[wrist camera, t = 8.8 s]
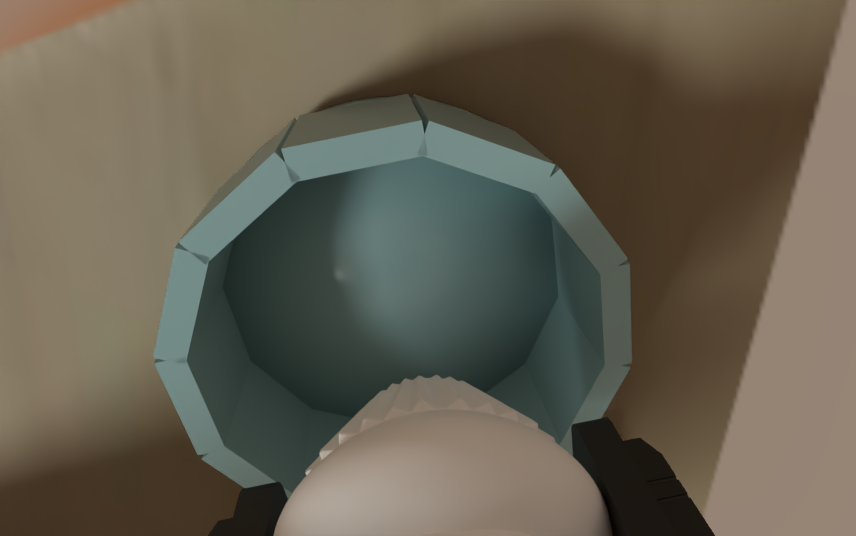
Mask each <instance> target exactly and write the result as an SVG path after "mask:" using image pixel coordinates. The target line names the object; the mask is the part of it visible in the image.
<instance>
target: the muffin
mask: <svg viewBox="0 0 856 536" xmlns="http://www.w3.org/2000/svg"><path fill="white" fill-rule="evenodd" d="M319 454H320V456H319V457H318V458H317V459H316V460H315V461H314V462H313V463H312V464H311V465H310V466H309V467H308V469H307V470H306V472H305V473H306V477H305V478H304V479H303V480H302V481H301V483H300V484H299V485H298V486H297V488H296V489H295V490H294V492H293V493H292V495H291V496H290V498H289V500H288V501H287V503H286V504H285V506H284V508H283V510H282V513H281V515H280V517H279V519H278V522H277V525H276V528H275V531H274V535H273V536H613V532H612V526H611V521H610V517H609V513H608V509H607V506H606V504H605V501H604V499H603V497H602V494H601V493H600V491H599V489H598V487H597V485H596V484H595V482H594V480H593V479H592V478H591V476H590V475H589V474H588V472H587V471H586V470H585V469H584V467H583V466H582V465H581V464H580V463H579V462H578V461H577V460H576V459H575V458H574V457H573V456H572V455H570V454H569V453H568V452H567V451H566V450H565V449H563V448H562V447H561V446H559V445H558V444H557V443H556V442H555V439H554V437H552V436H550V435H549V434H547V433H546V432H544V431H542V430H541V429H539V428H538V424H537V423H536V422H535V421H534V420H532V419H530V418H528V417H527V416H525V415H523V414H521V413H519V412H518V411H516V410H514V409H512V408H510V407H509V406H507V405H505V404H504V403H502V402H500V401H498V400H496V399H495V398H493V397H491V396H489V395H488V394H486V393H484V392H482V391H481V390H479V389H477V388H475V387H473V386H471V385H470V384H468V383H466V382H465V381H457V380H455V379H454V378H452V377H450V376H449V377H447V378H444V379H443V378H441V377H440V376H438V375H435V376H433V377H431V378H424V377H422V376H417V377H416V378H415V379H414V380H409V379H406V378H405V379H404V380H403V381H402V382H401V384H391V385H390V387H389V388H388V389H387V390H382V391H380V392H379V393H378V394H377V395H376V396H375V397H374V398H373V399H372V400H370V401H369V402H368V403H367V404H366V405H365V406H364V407H363V408H362V409H361V410H360V411H359V412H358V413H357V414H356V415H355V416H354V417H353V418H352V419H351V420H350V421H349V422H348V423H347V424H346V425H345V426H344V427H343V428H342V429H341V430H340V431H339V432H338V433H337V434H336V435H335V436H334V437H333V438H332V439H331V440H330V441H329V442H328V443H327V444H326V445H325V446H324V447H323V448H322V449H321V451H320V453H319Z"/></svg>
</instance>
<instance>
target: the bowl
mask: <svg viewBox="0 0 856 536" xmlns="http://www.w3.org/2000/svg"><path fill="white" fill-rule="evenodd" d="M627 259H628V258H627V256H626V255H625V254H624V252H623V251H622V250H621V248H620V247H619V246H618V244H617V243H616V242H615V240H614V239H613V238H612V236H611V235H610V234H609V232H608V231H607V230H606V228H605V227H604V226H603V224H602V223H601V222H600V220H599V219H598V218H597V216H596V215H595V214H594V212H593V211H592V210H591V208H590V207H589V206H588V204H587V203H586V202H585V200H584V199H583V198H582V196H581V195H580V194H579V192H578V191H577V190H576V188H575V187H574V186H573V184H572V183H571V182H570V180H569V179H568V178H567V176H566V175H565V174H564V173H563V171H562V170H561V169H560V168H559V167H558V166H557V165H556V164H554V163H553V162H552V161H551V160H550V159H548V158H547V157H546V156H545V155H543V154H542V153H541V152H540V151H539V150H537V149H536V148H535V147H534V146H533V145H531V144H530V143H529V142H528V141H527V140H525V139H524V138H523V137H522V136H520V135H519V134H518V133H516V132H515V131H514V130H513V129H510V128H507V127H504V126H502V125H499V124H496V123H493V122H490V121H488V120H486V119H484V118H482V117H480V116H478V115H476V114H473V113H471V112H469V111H466V110H464V109H462V108H459V107H456V106H452V105H449V104H445V103H442V102H438V101H435V100H429V99H426V98H424V97H421V96H418V95H415V94H414V95H413V97H410V96H409V95H408V94H403V95H398V96H393V97H375V98H367V99H360V100H353V101H350V102H346V103H342V104H339V105H335V106H331V107H328V108H325V109H323V110H321V111H318V112H314V113H309V114H304V115H300V116H299V118H298V119H297V120H296V119H295V118H294V119H293V120H292V121H291V122H290V123H289V124H288V125H287V126H286V127H285V128H283V129H282V130H281V131H280V132H279V133H278V134H277V135H276V136H275V137H273V138H272V139H271V140H270V141H269V142H267V143H266V144H265V145H264V146H262V147H261V148H260V149H259V150H258V151H257V152H256V154H255V155H254V156H253V157H252V158H251V159H250V160H249V161H248V162H247V163H246V164H245V165H244V166H243V167H242V168H241V169H240V170H239V171H238V172H237V173H236V174H235V175H234V176H232V177H231V178H230V179H229V180H228V181H227V182H226V183H225V184H224V185H223V186H222V187H221V188H220V189H219V190H218V191H217V192H216V194H215V195H214V196H213V198H212V199H211V200H210V201H209V203H208V204H207V205H206V207H205V208H204V209H203V211H202V212H201V213H200V214H199V216H198V217H197V218H196V220H195V221H194V222H193V223H192V225H191V226H190V227H189V229H188V230H187V231H186V232H185V234H184V235H183V236H182V238H181V239H180V240H179V242H178V244H177V246H176V247H175V249H174V255H173V260H172V265H171V270H170V275H169V280H168V285H167V290H166V295H165V300H164V305H163V310H162V315H161V321H160V326H159V331H158V336H157V341H156V346H155V351H154V356H153V358H156V361H155V362H154V365H155V367H156V369H157V371H158V373H159V375H160V377H161V379H162V381H163V383H164V386H165V388H166V390H167V392H168V394H169V396H170V398H171V400H172V402H173V404H174V407H175V409H176V411H177V413H178V415H179V417H180V419H181V421H182V423H183V425H184V427H185V430H186V432H187V434H188V436H189V438H190V440H191V442H192V444H193V446H194V448H195V451H196V453H197V455H202V454H203V456H202V460H203V461H205V462H206V463H208V464H209V465H211V466H212V467H214V468H215V469H217V470H218V471H220V472H221V473H223V474H224V475H226V476H227V477H229V478H230V479H232V480H233V481H235V482H236V483H238V484H239V485H241V486H242V487H243V488H249V487H254V486H259V485H264V484H269V483H274V482H280V483H281V484H282V486H283V488H284V490H285V493H286V495H287V498H288V500H289V498H290V496H291V495H292V493H293V492H294V490H295V489H296V488H297V486H298V485H299V484H300V483H301V481H302V480H303V479H304V478H305V477H306V473H305V472H306V470H307V469H308V467H309V466H310V465H311V464H312V463H313V462H314V461H315V460H316V459H317V458H318V457H319V456H320V454H319V453H320V451H321V449H322V448H323V447H324V446H325V445H326V444H327V443H328V442H329V441H330V440H331V439H332V438H333V437H334V436H335V435H336V434H337V433H338V432H339V431H340V430H341V429H342V428H343V427H344V426H345V425H346V424H347V423H348V422H349V421H350V420H351V419H352V418H353V417H354V416H355V415H356V414H357V413H358V412H359V411H360V410H361V409H362V408H363V407H364V406H365V405H366V404H367V403H368V402H369V401H370V400H372V399H373V398H374V397H375V396H376V395H377V394H378V393H379V392H380V391H382V390H387V389H388V388H389V387H390V385H391V384H401V382H402V381H403V380H404V379H405V378H406V379H409V380H414V379H415V378H416V377H417V376H422V377H424V378H431V377H433V376H435V375H438V376H440V377H441V378H443V379H444V378H447V377H449V376H450V377H452V378H454V379H455V380H457V381H465V382H466V383H468V384H470V385H471V386H473V387H475V388H477V389H479V390H481V391H482V392H484V393H486V394H488V395H489V396H491V397H493V398H495V399H496V400H498V401H500V402H502V403H504V404H505V405H507V406H509V407H510V408H512V409H514V410H516V411H518V412H519V413H521V414H523V415H525V416H527V417H528V418H530V419H532V420H534V421H535V422H536V423H537V424H538V428H539V429H541V430H542V431H544V432H546V433H547V434H549V435H550V436H552V437H554V439H555V442H556V443H557V444H558V445H559V446H561V447H562V448H563V449H565V450H566V451H567V452H568V453H569V454H570V455H572V456H573V448H572V434H571V427H572V424H576V423H581V422H586V421H591V420H596V419H601V418H602V416H603V414H604V413H605V411H606V409H607V408H608V406H609V404H610V402H611V401H612V399H613V397H614V396H615V394H616V392H617V390H618V389H619V387H620V385H621V384H622V382H623V380H624V379H625V377H626V375H627V373H628V372H629V370H630V366H629V365H628V364H630V363H632V336H631V289H630V263H629V262H628V261H626V260H627Z"/></svg>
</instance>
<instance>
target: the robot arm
mask: <svg viewBox="0 0 856 536" xmlns="http://www.w3.org/2000/svg"><path fill="white" fill-rule="evenodd" d="M571 434H572V448H573V457H574V458H575V459H576V460H577V461H578V462H579V463H580V464H581V465H582V466H583V467H584V469H585V470H586V471H587V472H588V474H589V475H590V476H591V478H592V479H593V480H594V482H595V484H596V485H597V487H598V489H599V491H600V493H601V494H602V497H603V499H604V501H605V504H606V506H607V509H608V513H609V517H610V521H611V526H612V532H613V536H715V535H714V533H713V532H712V530H711V529H710V527H709V526H708V524H707V523H706V521H705V519H704V518H703V516H702V515H701V513H700V512H699V510H698V509H697V507H696V506H695V504H694V503H693V501H692V500H691V498H689V497H688V495H687V492H686V490H685V489H684V487H683V486H682V484H681V483H680V481H679V480H677V479H676V475H675V474H674V472H673V471H672V469H671V467H670V466H669V464H668V463H667V461H666V460H665V458H664V457H663V455H662V454H661V453H660V452H658V451H657V450H656V449H654V448H653V447H652V446H650V445H649V444H648V443H646V442H645V441H643V440H642V439H641V438H636V439H631V440H626V441H622V439H621V437H620V436H619V434H618V432H617V430H616V429H615V427H614V425H613V424H612V422H611V421H610V419H609V418H607V417H606V418H601V419H596V420H591V421H586V422H581V423H576V424H572V427H571ZM287 501H288V498H287V495H286V493H285V490H284V488H283V486H282V484H281V483H280V482H274V483H269V484H264V485H259V486H254V487H249V488H244V489H242V491H241V492H240V494H239V498H238V501H237V505H236V509H235V513H234V517H233V518H230V519H225V520H220V521H218V522H217V524H216V525H215V527H214V528H213V529H212V531H211V532H210V534H209V535H208V536H273V535H274V531H275V528H276V525H277V522H278V519H279V517H280V515H281V513H282V510H283V508H284V506H285V504H286V503H287Z"/></svg>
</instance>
